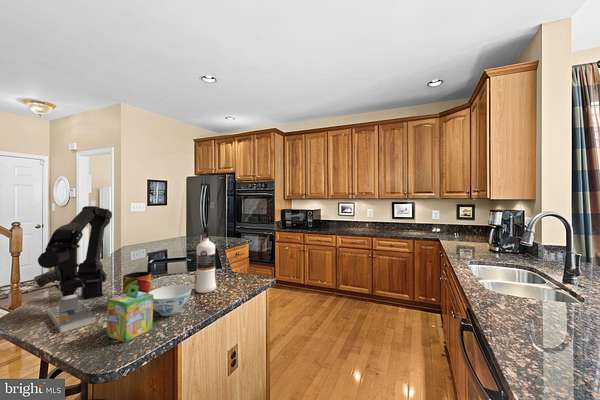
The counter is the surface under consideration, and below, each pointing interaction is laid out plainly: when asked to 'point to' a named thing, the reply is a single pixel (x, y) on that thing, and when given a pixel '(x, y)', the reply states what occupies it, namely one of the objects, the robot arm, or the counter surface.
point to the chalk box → (129, 314)
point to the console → (71, 317)
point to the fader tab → (68, 303)
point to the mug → (137, 281)
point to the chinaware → (170, 299)
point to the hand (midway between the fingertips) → (66, 303)
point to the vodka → (205, 264)
